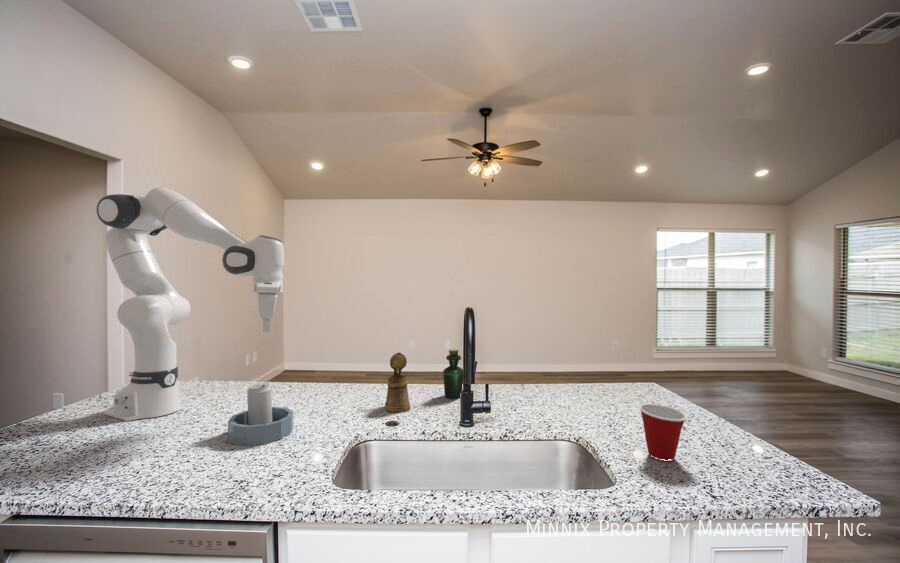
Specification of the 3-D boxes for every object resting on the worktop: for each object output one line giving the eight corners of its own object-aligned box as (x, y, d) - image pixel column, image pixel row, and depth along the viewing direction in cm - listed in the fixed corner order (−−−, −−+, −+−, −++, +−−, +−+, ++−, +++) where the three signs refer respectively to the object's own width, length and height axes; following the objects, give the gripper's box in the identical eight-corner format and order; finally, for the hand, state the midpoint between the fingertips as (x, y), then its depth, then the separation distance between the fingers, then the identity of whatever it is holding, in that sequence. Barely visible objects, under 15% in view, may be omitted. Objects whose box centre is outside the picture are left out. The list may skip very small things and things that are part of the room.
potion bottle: (447, 392, 155) (448, 347, 155) (466, 395, 152) (467, 349, 152) (439, 398, 148) (439, 350, 148) (459, 400, 144) (459, 352, 144)
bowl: (214, 441, 106) (214, 423, 106) (258, 420, 122) (258, 404, 122) (265, 448, 102) (265, 429, 102) (304, 426, 117) (304, 409, 117)
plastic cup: (686, 471, 91) (687, 420, 91) (636, 459, 97) (636, 411, 97) (687, 454, 100) (687, 407, 101) (641, 444, 106) (641, 400, 106)
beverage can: (262, 430, 111) (261, 388, 110) (243, 429, 112) (241, 388, 112) (277, 422, 117) (275, 382, 117) (258, 421, 118) (257, 382, 118)
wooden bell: (410, 400, 145) (411, 352, 145) (410, 412, 131) (410, 359, 131) (386, 400, 144) (386, 352, 144) (383, 413, 130) (384, 359, 130)
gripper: (258, 285, 132) (256, 326, 132) (255, 287, 114) (254, 334, 113) (278, 286, 135) (277, 326, 135) (279, 287, 116) (277, 334, 116)
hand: (266, 330), depth 124 cm, fingers open, 8 cm apart
